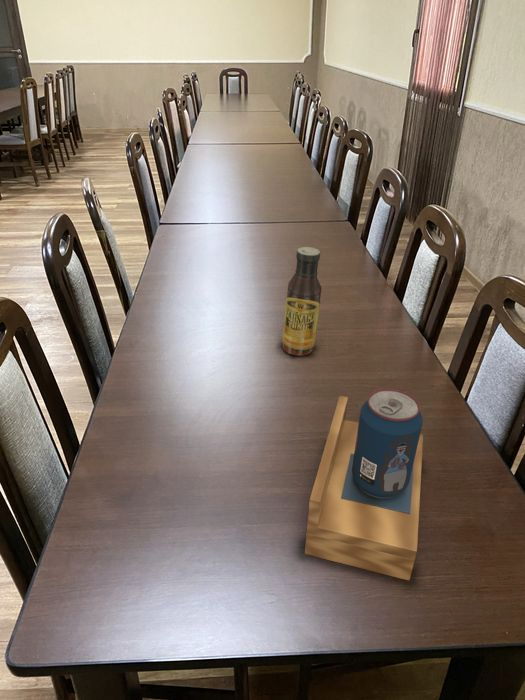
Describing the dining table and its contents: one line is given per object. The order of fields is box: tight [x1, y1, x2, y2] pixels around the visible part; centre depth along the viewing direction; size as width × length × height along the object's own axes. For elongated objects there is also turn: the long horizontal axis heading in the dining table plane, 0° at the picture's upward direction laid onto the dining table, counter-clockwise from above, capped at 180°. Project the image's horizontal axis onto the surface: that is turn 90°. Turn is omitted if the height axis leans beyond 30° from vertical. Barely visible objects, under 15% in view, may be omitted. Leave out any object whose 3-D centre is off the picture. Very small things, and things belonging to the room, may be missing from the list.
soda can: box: [352, 387, 424, 498], centre depth 63 cm, size 7×7×12 cm
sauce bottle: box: [281, 246, 323, 357], centre depth 97 cm, size 7×6×20 cm
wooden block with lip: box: [304, 395, 424, 581], centre depth 67 cm, size 12×20×9 cm, turn 164°
